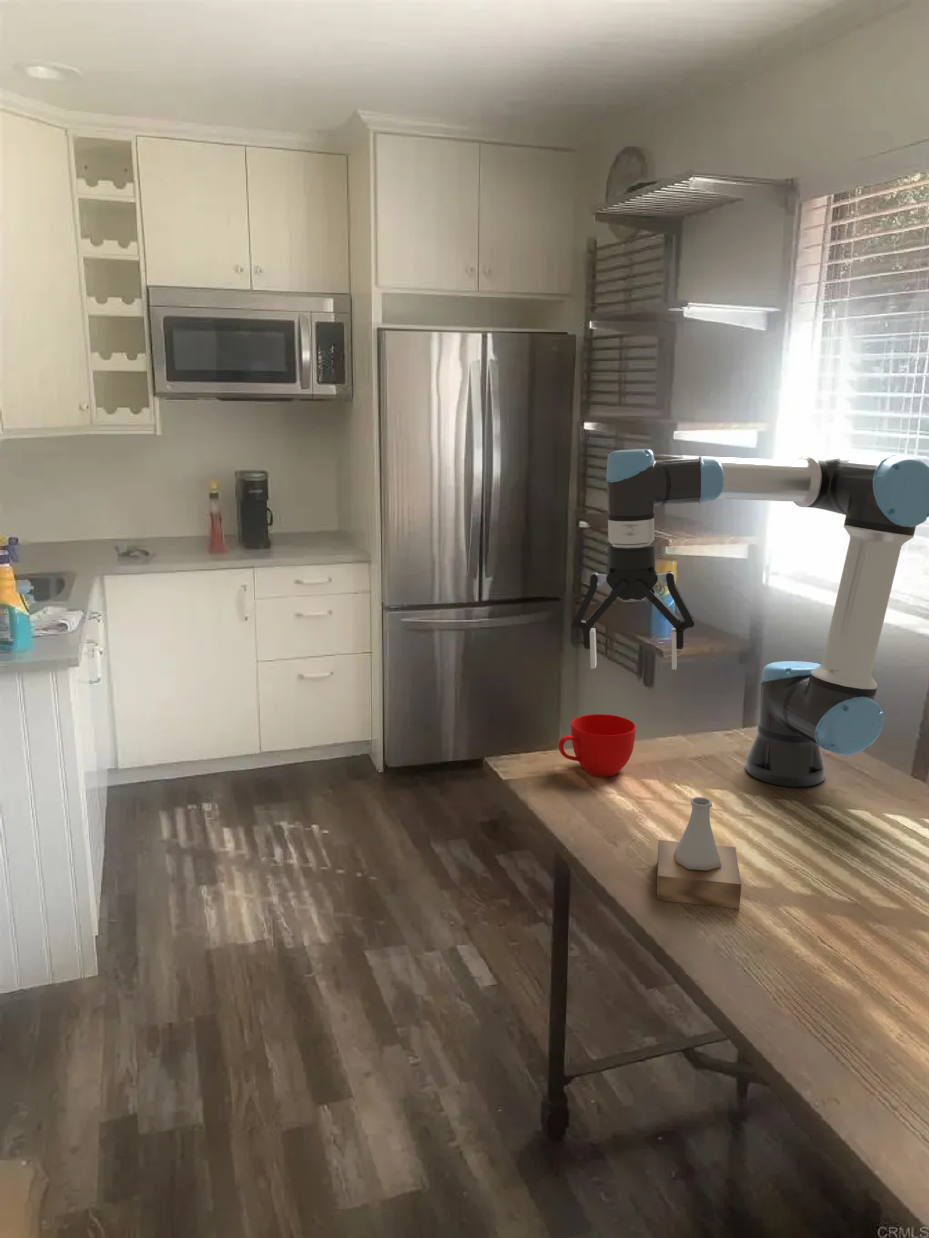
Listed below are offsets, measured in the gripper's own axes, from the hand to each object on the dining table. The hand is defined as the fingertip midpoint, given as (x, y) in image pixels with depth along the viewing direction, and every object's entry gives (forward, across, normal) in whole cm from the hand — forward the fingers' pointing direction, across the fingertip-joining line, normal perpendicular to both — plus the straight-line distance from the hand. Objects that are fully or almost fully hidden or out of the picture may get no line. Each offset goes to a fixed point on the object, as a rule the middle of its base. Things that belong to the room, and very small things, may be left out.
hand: (633, 667), depth 157 cm
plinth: (+29, +10, -20) cm, 37 cm away
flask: (+26, +10, -20) cm, 34 cm away
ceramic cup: (+29, -10, +22) cm, 38 cm away
